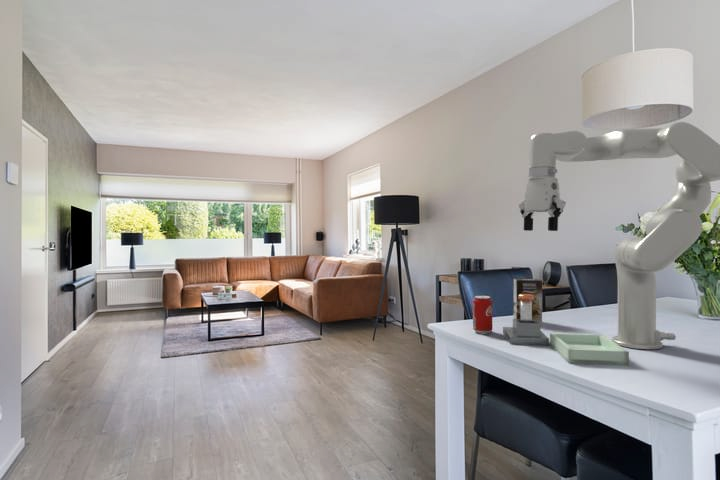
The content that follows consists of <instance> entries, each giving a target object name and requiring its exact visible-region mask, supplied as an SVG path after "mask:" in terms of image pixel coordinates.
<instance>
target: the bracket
mask: <svg viewBox="0 0 720 480" xmlns="http://www.w3.org/2000/svg"><path fill="white" fill-rule="evenodd" d="M502 334H503V335H504V337H505V339H507V342H508V343H509V344H511V345H530V346H531V345H535V346H550V337H548V336H547V335H546V334H545V333H544V332H543V331H542V330H541V324H540V323H539V322H538V321H536V320H535V319H532V323H521V319H513V318H512V326H503V327H502Z"/></svg>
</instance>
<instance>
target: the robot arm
mask: <svg viewBox="0 0 720 480" xmlns="http://www.w3.org/2000/svg"><path fill="white" fill-rule="evenodd" d="M528 153H529V155H528V157H529V158H528V179H527V182H526V186H525V193H524V201H522V202H521V203H519V205H518V208H519V211H520V213H521V215H522V218H523V231H525V232H527V231H529V232H531V231H533V230H534V218H533V216H534V215H535V213H536V212H537V213H548V215H549V216H548V219H547V221H548V222H547V230H548V231H549V232H557V231H558V230H559V218H560V217H561V214H562V213H563V211H564V209H565V207H566V204H567V203H566V201H565V200H563V199H561V195H560V194H561V193H560V183H559V179H558V178H557V177H556V174H557V173H558V169H556V165H557V163H556V161H559V162H567V163H568V162H569V163H572V162H577V163H578V162H579V163H580V162H592V161H593V162H595V161H612V160H623V159H625V160H626V159H631V160H632V159H663V158H670V157H674V156H676V155H678V156H679V157H680V158H681V159H682V160H681V161H680V162H679V163H678V164H677V166H676V169H675V179H676V183H677V189H676V191H675V193H674V195H672V196H671V198H670V199H669V200H668V201H667V202H666V203H665V204H664V205H663V206H662V207H661V208H660V209H659V210H658V211H656V212H655V213H654V214H653V215H652V216H650V218H649V219H648V220H647V222H646V224H645V227H644V232H645V234H646V236H645V237H640V236H639V237H636V236H635V237H629V238H625V239H624V240H622V241H621V242H620V243H619V244H618V245H617V246H616V248H615V252H614V262H615V267H616V275H617V277H616V278H617V335H614V336H612V337H611V341H612V342H614V343H616V344H617V345H619V346H621V347H625V348H629V349H630V348H631V349H637V350H659V349H661V348H663V347H664V346H663V344H664V343H663V341H664V340H667V341H675V340H676V334H675V333H673V332H665V331H659V330H658V329H657V282H656V276H655V273H657V272H660V271H663V270H664V269H667V268H668V267H669V266H670V265H671V264H673V263H674V262H675V261H676V260H677V259H678V258H679V257H680V256H681V255H683V254H684V252H686V251H687V250H688V249H689V248H690V247H692V245H693V244H694V243H695V242H696V241H697V240H698V238H699V237H700V236H701V234H702V231H703V221H702V219H701V215H702V214H703V213H704V212H705V211H706V210H707V208H708V207H709V205H710V203H711V200H712V188H711V182H716V181H720V143H719V142H717V141H715V140H714V139H713V138H712V137H711V136H710V135H708V134H707V133H706V132H704V131H702V129H700V128H699V127H697V126H695V125H693V124H691V123H689V122H686V121H677V122H674V123H671V124H670V125H667V126H665V127H656V128H655V127H654V128H630V129H629V128H626V129H623V128H622V129H618V130H614V131H611V132H608V133H605V134H601V135H595V136H589V137H587V136H586V135H585V134H584V133H583V132H581V131H577V130H569V131H563V132H555V133H553V132H552V133H551V132H540V133H535V134H533V135H532V136H531V137H530V138H529V152H528Z"/></svg>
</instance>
